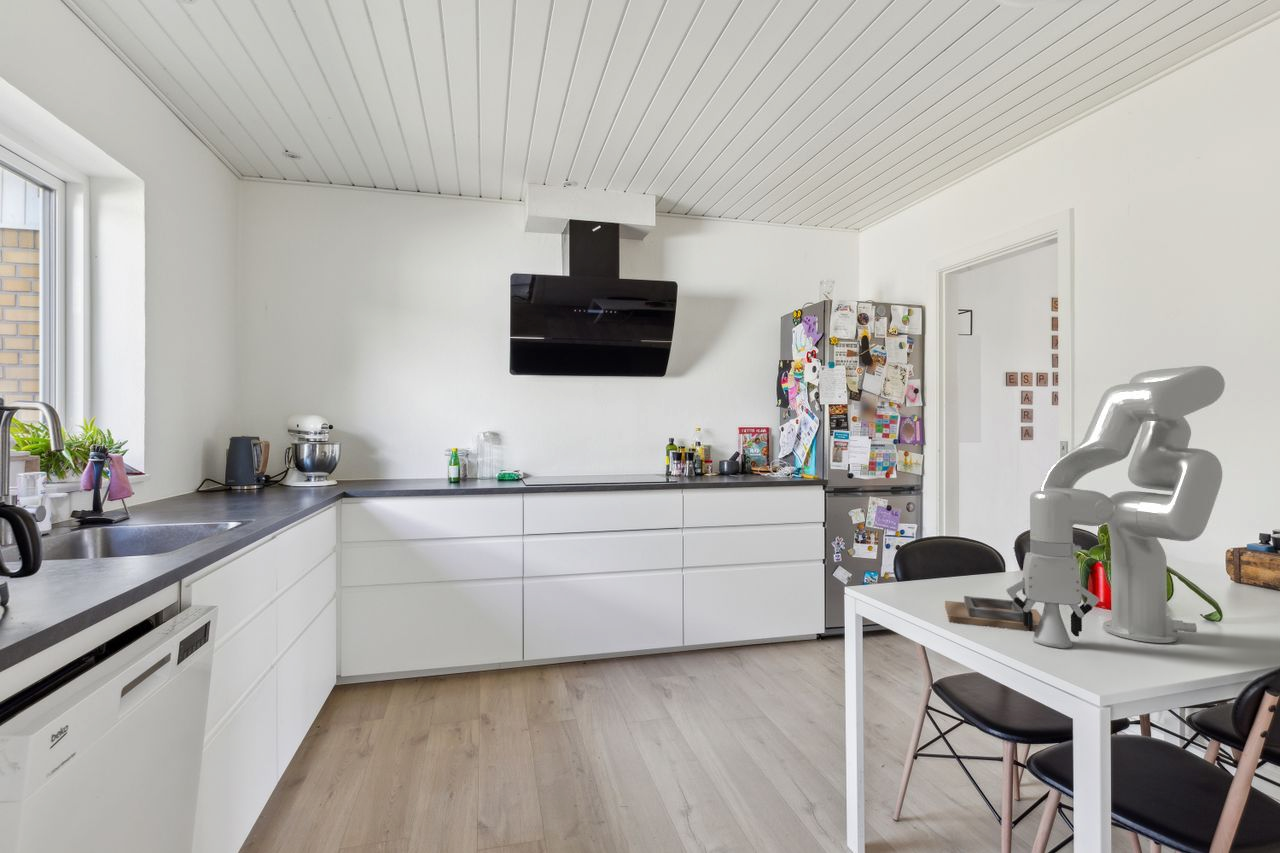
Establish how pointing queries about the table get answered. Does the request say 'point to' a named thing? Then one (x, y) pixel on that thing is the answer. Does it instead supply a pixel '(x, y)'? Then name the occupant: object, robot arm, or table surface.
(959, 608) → the walnut board
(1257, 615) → the table surface
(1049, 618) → the flask
